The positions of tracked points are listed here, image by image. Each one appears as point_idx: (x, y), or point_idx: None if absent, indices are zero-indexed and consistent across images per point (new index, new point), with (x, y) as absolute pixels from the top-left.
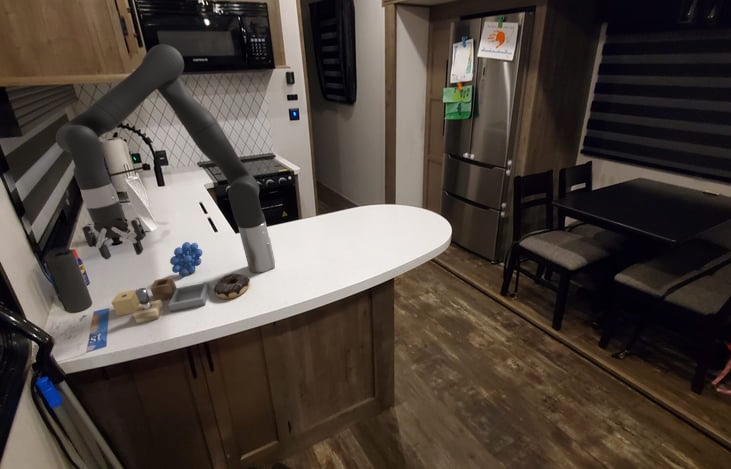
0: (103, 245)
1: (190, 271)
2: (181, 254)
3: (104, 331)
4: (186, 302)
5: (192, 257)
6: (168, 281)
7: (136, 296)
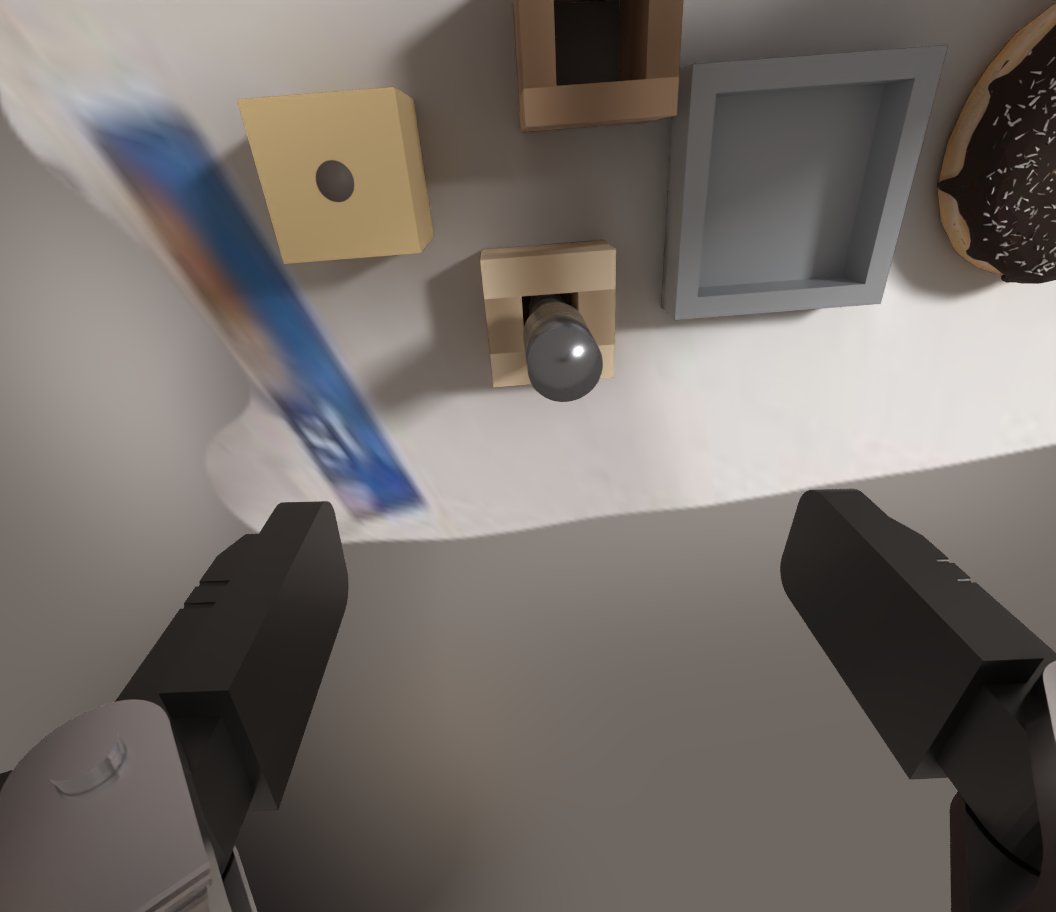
0: (225, 784)
1: None
2: None
3: (341, 394)
4: (778, 310)
5: None
6: (664, 25)
7: (410, 147)
